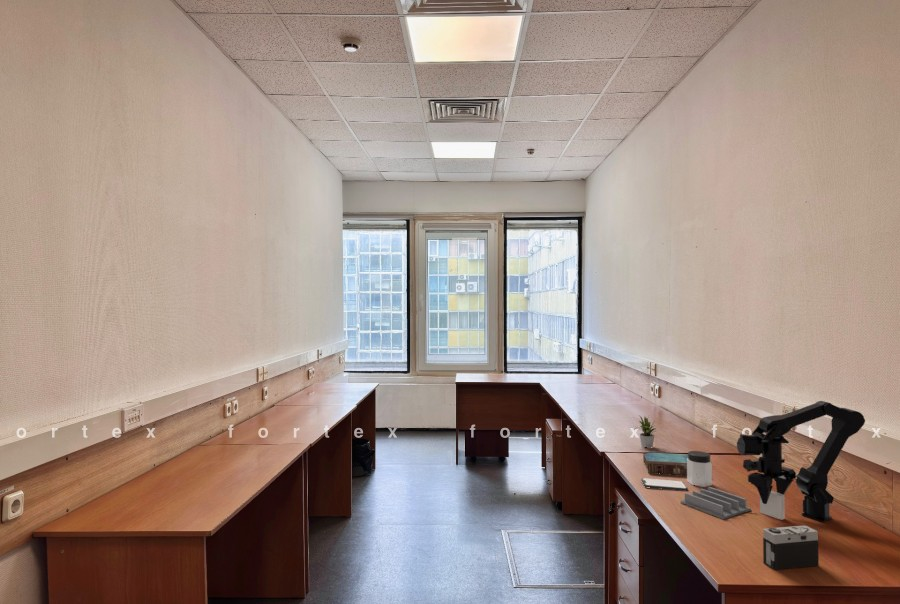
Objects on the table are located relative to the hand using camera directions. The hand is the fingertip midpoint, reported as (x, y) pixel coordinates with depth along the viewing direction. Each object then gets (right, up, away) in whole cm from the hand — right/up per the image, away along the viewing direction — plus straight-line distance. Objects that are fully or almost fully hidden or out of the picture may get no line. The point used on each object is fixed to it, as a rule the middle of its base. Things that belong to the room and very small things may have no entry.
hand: (772, 501), depth 171 cm
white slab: (0, -5, 0) cm, 5 cm away
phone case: (-25, -6, +29) cm, 38 cm away
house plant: (-11, -6, +85) cm, 86 cm away
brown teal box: (-12, -6, +49) cm, 51 cm away
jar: (-9, -6, +31) cm, 33 cm away
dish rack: (-16, -5, +7) cm, 18 cm away
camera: (-16, -5, -31) cm, 35 cm away
